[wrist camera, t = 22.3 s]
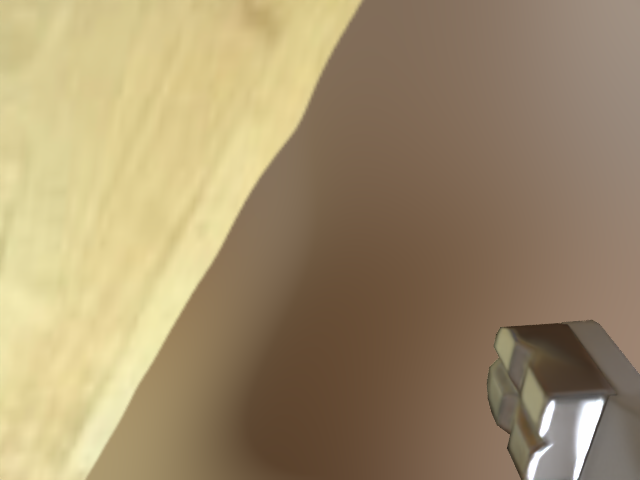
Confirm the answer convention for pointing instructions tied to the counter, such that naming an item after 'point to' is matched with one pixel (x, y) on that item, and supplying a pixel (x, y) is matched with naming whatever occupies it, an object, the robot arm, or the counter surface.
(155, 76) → the counter surface
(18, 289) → the counter surface
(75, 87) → the counter surface
